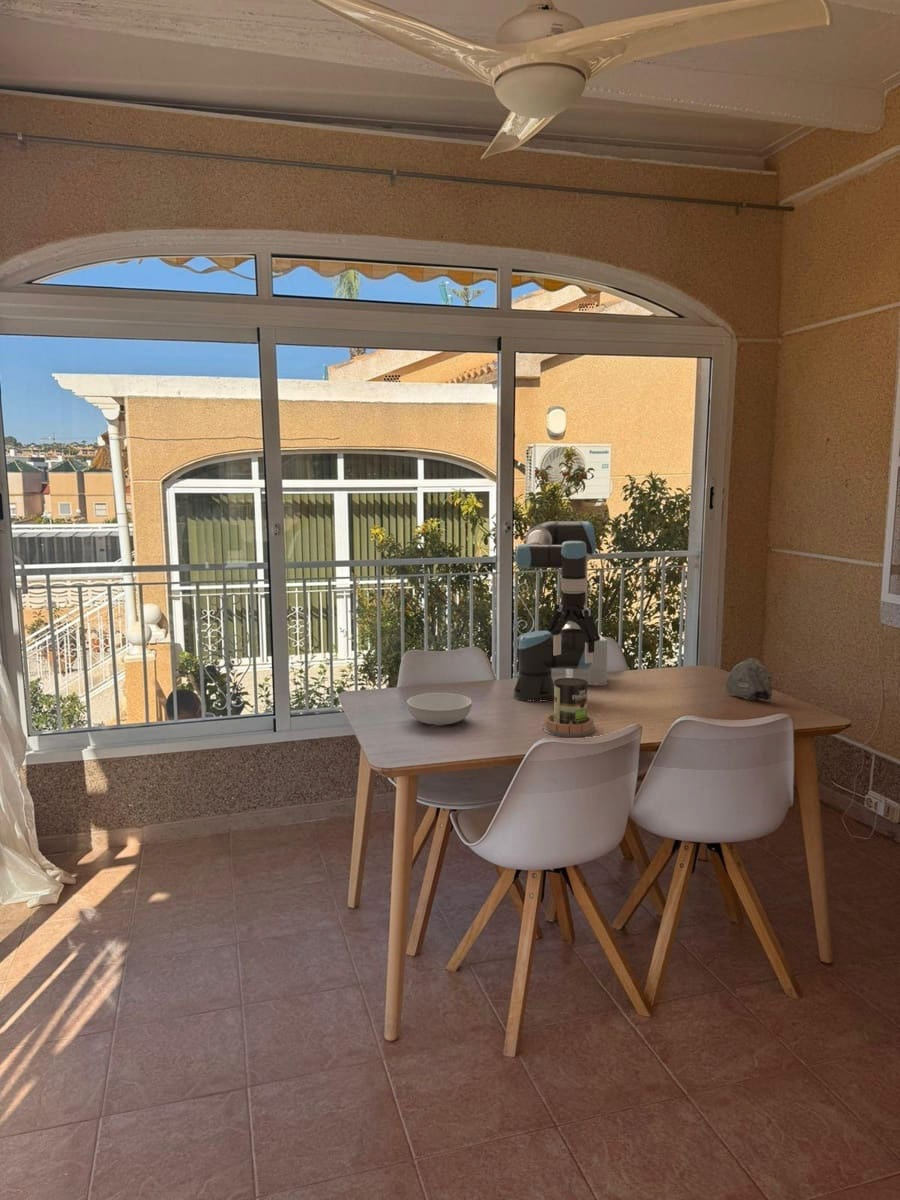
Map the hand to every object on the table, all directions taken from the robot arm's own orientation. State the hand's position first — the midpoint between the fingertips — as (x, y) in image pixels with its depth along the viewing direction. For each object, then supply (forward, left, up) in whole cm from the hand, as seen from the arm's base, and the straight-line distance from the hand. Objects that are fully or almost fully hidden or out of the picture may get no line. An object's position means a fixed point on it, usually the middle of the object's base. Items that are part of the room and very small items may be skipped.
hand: (572, 658), depth 254 cm
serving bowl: (-41, -11, -22) cm, 47 cm away
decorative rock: (+50, +51, -22) cm, 75 cm away
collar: (0, -5, -21) cm, 22 cm away
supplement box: (-9, +57, -22) cm, 61 cm away
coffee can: (+1, -4, -21) cm, 21 cm away
